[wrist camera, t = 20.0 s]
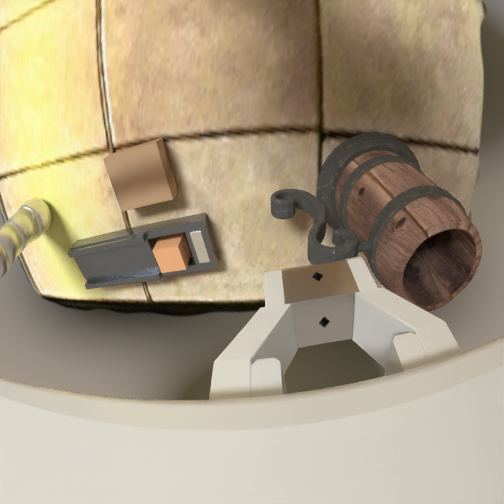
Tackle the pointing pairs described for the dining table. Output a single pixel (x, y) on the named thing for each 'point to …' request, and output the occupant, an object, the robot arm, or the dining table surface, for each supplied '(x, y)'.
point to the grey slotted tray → (142, 252)
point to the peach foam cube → (172, 253)
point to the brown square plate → (141, 175)
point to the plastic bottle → (22, 230)
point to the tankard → (388, 220)
